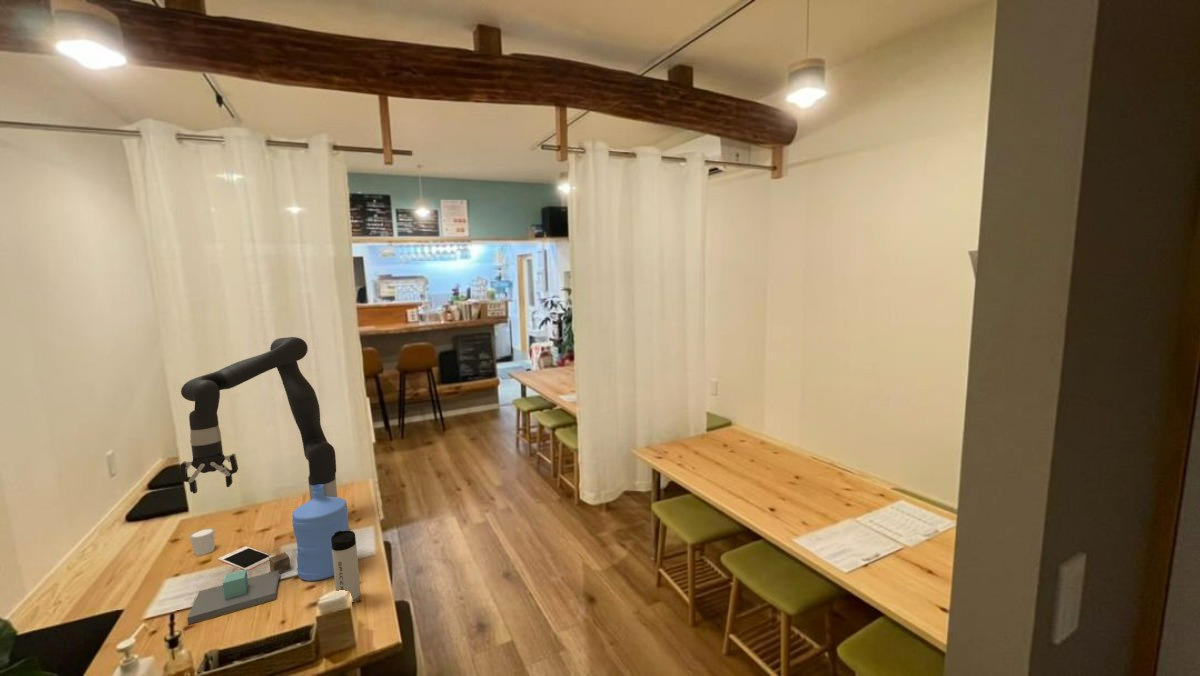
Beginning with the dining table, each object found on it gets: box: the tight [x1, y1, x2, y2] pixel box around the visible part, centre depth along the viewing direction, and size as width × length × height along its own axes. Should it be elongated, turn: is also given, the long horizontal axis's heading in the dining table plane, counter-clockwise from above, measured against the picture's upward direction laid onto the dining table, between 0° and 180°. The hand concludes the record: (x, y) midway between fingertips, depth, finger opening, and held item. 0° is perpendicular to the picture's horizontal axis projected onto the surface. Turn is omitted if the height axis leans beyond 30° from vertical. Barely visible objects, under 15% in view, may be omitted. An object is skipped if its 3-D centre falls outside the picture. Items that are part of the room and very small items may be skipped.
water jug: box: [291, 484, 351, 582], centre depth 156 cm, size 16×16×28 cm
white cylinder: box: [189, 527, 216, 557], centre depth 170 cm, size 7×7×7 cm
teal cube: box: [222, 570, 249, 599], centre depth 142 cm, size 5×5×5 cm
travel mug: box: [331, 530, 362, 603], centre depth 139 cm, size 6×7×20 cm
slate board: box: [186, 570, 280, 625], centre depth 142 cm, size 20×14×2 cm
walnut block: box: [268, 552, 291, 575], centre depth 156 cm, size 4×4×4 cm
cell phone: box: [217, 545, 274, 572], centre depth 164 cm, size 9×18×1 cm, turn 64°
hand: (212, 489), depth 154 cm, fingers open, 8 cm apart
